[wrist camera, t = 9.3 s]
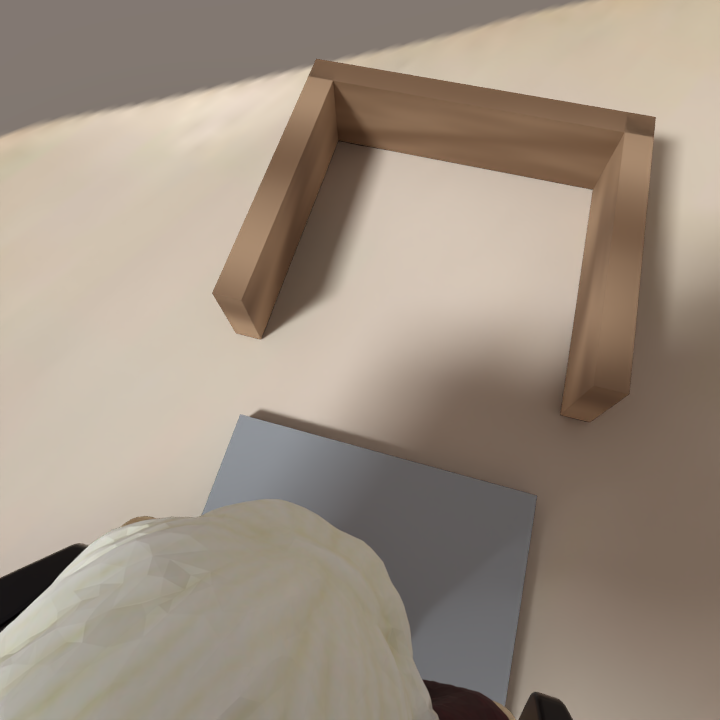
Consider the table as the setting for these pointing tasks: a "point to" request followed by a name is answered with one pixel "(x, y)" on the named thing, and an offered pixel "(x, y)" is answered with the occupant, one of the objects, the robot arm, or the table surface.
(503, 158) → the walnut stall
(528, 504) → the slate mat
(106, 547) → the grandmother figurine
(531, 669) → the table surface
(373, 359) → the table surface
